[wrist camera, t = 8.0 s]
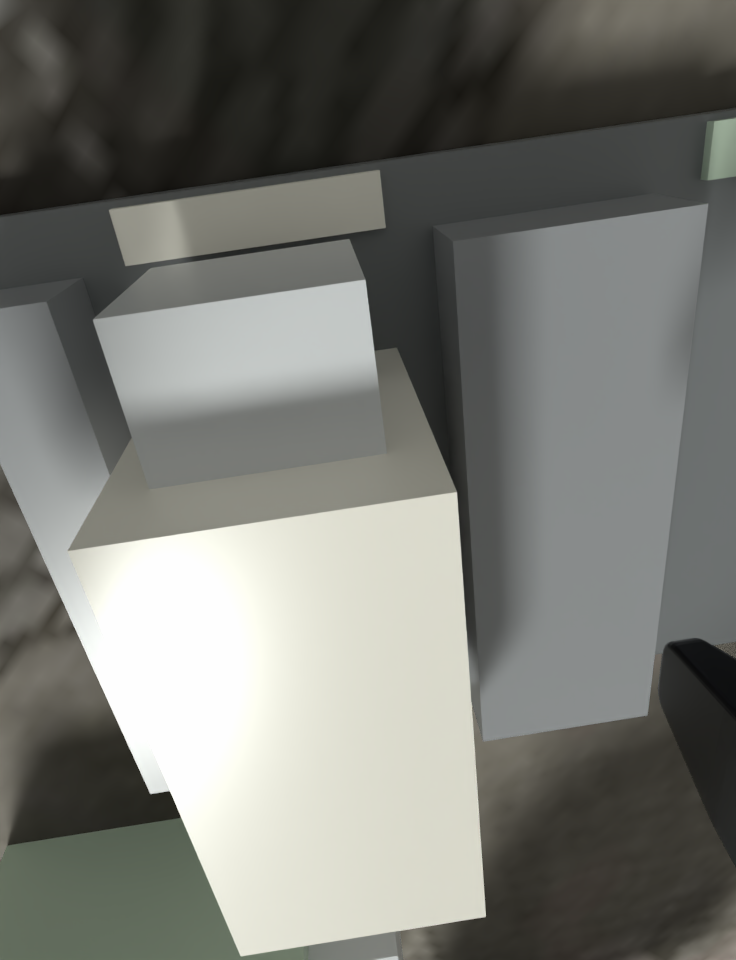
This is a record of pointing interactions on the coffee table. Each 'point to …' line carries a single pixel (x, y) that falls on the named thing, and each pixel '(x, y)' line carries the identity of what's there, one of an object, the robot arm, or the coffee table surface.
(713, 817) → the robot arm
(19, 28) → the coffee table surface
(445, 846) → the cream plug
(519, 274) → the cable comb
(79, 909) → the sage plug
